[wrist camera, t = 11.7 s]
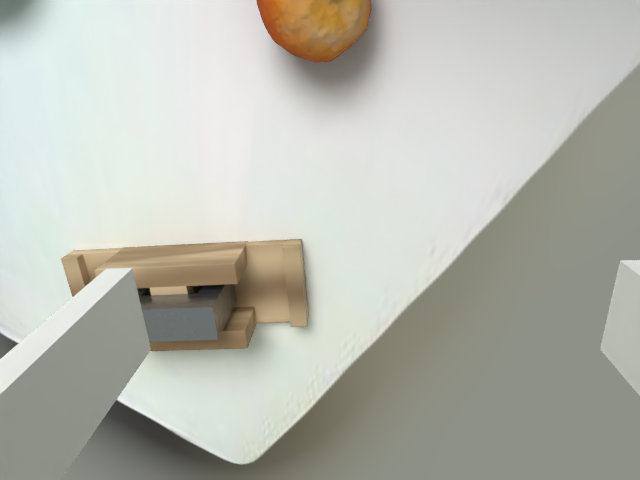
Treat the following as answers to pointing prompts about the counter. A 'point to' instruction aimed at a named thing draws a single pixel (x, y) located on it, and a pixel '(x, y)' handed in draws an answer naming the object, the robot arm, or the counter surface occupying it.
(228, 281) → the rail
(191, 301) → the clip
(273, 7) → the fruit
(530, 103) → the counter surface
